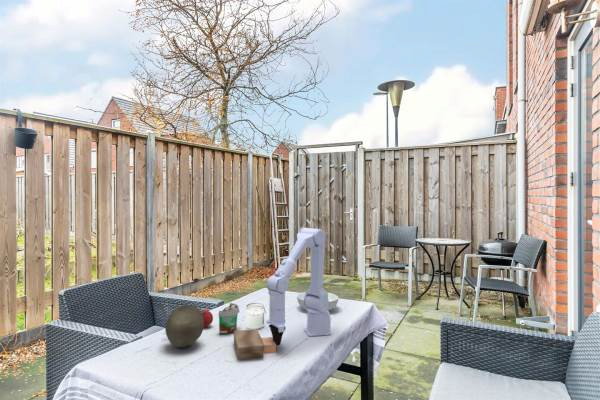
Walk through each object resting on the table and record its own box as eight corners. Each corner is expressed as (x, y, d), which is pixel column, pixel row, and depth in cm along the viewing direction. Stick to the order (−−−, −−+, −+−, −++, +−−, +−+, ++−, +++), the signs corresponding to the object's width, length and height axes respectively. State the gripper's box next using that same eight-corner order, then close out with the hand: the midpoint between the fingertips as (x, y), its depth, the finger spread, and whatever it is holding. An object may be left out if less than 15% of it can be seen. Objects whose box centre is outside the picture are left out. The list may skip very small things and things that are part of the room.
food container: (232, 337, 143) (232, 312, 143) (217, 336, 145) (218, 311, 145) (243, 327, 156) (243, 303, 156) (229, 325, 157) (230, 302, 157)
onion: (205, 330, 150) (205, 311, 150) (195, 327, 153) (196, 309, 153) (215, 326, 155) (216, 308, 155) (206, 324, 158) (206, 305, 158)
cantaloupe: (155, 350, 130) (156, 308, 130) (182, 337, 143) (182, 299, 143) (187, 357, 124) (188, 314, 124) (212, 343, 138) (212, 303, 138)
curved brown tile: (256, 341, 140) (257, 329, 140) (264, 359, 125) (264, 345, 125) (233, 343, 138) (233, 330, 138) (238, 361, 122) (238, 347, 122)
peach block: (271, 345, 137) (271, 337, 137) (275, 352, 130) (276, 344, 130) (245, 347, 134) (245, 339, 134) (248, 355, 128) (248, 346, 128)
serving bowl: (340, 316, 172) (340, 302, 172) (296, 315, 172) (296, 301, 172) (336, 304, 193) (336, 291, 193) (297, 303, 193) (297, 290, 193)
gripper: (263, 303, 140) (262, 338, 140) (270, 315, 126) (270, 354, 126) (280, 302, 142) (280, 336, 142) (290, 313, 128) (289, 351, 128)
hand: (276, 344), depth 134 cm, fingers closed, pressing on peach block
